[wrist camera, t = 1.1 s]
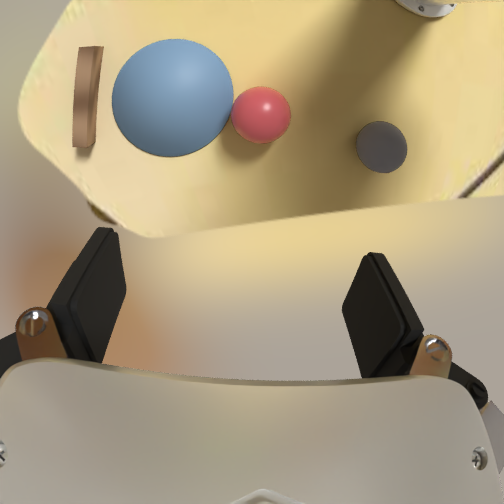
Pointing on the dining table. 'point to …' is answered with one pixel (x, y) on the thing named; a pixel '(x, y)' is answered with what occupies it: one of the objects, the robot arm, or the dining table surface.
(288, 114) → the object ball
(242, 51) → the dining table surface
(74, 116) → the wall
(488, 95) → the dining table surface
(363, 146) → the grey ball
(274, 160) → the dining table surface
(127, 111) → the blue flat disc
